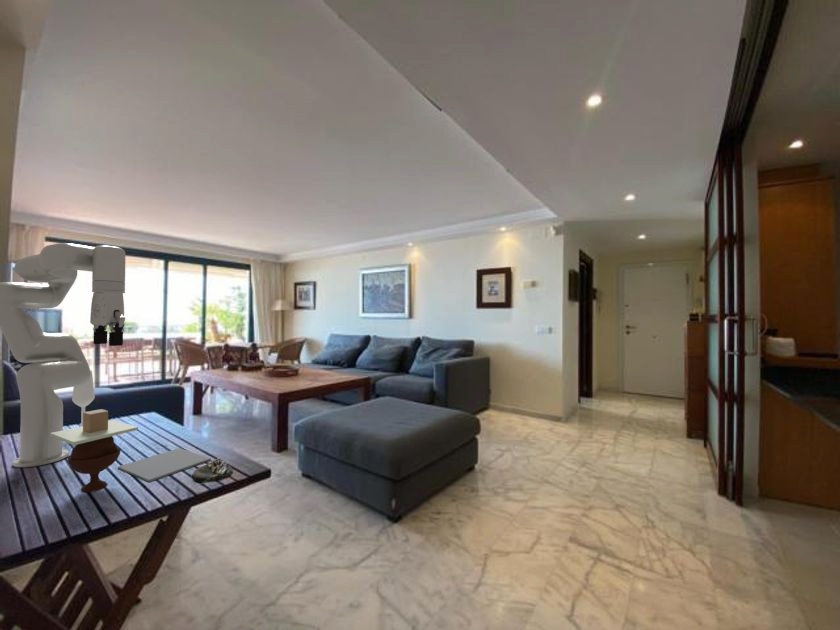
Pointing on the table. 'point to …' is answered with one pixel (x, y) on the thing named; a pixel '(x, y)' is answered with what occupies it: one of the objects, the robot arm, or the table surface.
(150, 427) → the table surface
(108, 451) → the ice cream bowl
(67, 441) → the cover
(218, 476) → the grey green irregular lump
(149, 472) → the mat
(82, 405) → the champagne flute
